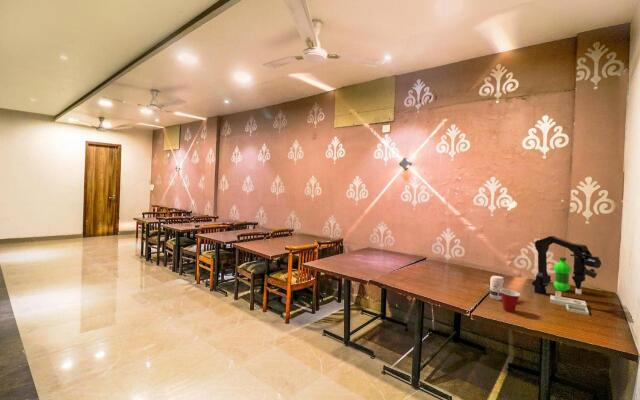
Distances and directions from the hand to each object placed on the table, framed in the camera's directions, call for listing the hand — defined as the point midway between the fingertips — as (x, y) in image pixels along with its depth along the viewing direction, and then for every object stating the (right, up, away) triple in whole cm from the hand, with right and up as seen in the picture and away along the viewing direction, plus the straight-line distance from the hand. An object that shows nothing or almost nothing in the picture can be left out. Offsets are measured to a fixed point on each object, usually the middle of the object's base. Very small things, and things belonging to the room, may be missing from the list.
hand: (578, 288), depth 196 cm
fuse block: (-4, -12, +4) cm, 14 cm away
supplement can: (-44, -12, +15) cm, 48 cm away
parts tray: (-7, -13, -7) cm, 16 cm away
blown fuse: (0, -4, 0) cm, 4 cm away
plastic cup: (-49, -12, -7) cm, 51 cm away
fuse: (-8, -11, +7) cm, 15 cm away
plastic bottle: (+17, -12, +35) cm, 40 cm away
